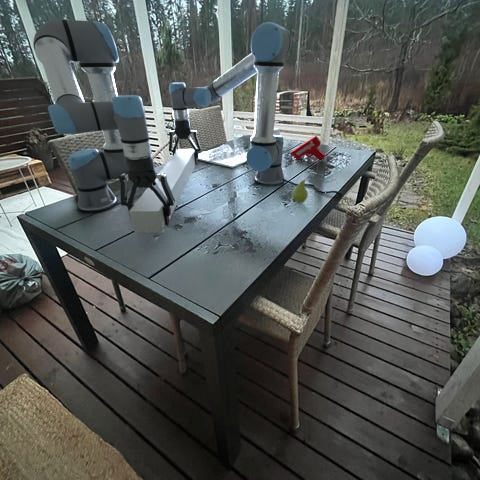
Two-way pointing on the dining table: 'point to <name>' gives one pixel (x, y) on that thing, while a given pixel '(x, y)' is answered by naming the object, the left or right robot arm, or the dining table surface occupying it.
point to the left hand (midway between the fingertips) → (152, 223)
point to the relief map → (224, 156)
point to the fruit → (300, 192)
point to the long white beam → (149, 206)
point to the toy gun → (309, 149)
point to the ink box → (276, 131)
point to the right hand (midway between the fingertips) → (187, 164)
